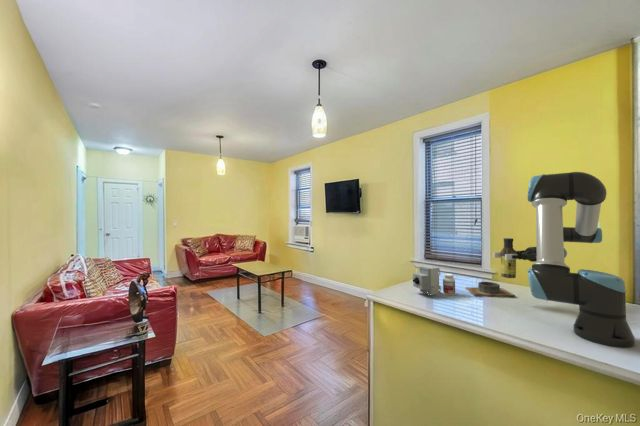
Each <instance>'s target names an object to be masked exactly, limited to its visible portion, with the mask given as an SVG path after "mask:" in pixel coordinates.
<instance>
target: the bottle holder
mask: <svg viewBox="0 0 640 426" xmlns="http://www.w3.org/2000/svg"><path fill="white" fill-rule="evenodd" d="M477 286H478V287H471V286H470V287H469V286H466V287H465V290H466V291H467V290H468V291H469V293H470V294H471V295H472V294H473V295H472V296H473V297H482V296H487V298H489V297H490V298H494V297H495V298H516V295H515V294H514V293H512V292H510V291H508V290H507V289H505V288H503V287H501V286H500V284H499V283H496V282H492V281H479V282H478V283H477ZM468 291H467V292H468Z"/></svg>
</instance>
